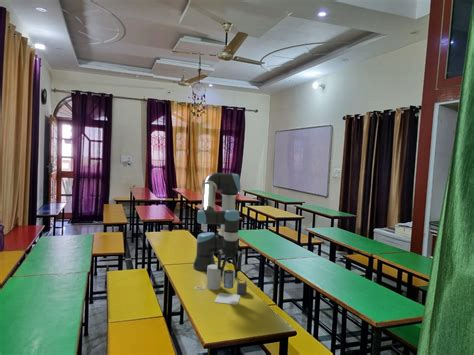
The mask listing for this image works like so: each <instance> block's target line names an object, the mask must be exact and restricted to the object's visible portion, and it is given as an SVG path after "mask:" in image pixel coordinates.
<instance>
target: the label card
mask: <svg viewBox="0 0 474 355" xmlns="http://www.w3.org/2000/svg"><path fill="white" fill-rule="evenodd" d="M204 289H205V287H204V286H203V287H202V286H195V287H194V290H201V291H202V290H204Z"/></svg>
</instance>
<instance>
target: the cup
mask: <svg viewBox="0 0 474 355" xmlns="http://www.w3.org/2000/svg"><path fill="white" fill-rule="evenodd" d="M217 267H218V264H216V265H215V264H212V265H208V266H207V271H206V289H208V290H210V291H217V290H219V289H221V286H222V277H221V270H219V269H217Z"/></svg>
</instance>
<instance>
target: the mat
mask: <svg viewBox="0 0 474 355" xmlns="http://www.w3.org/2000/svg"><path fill="white" fill-rule="evenodd" d="M241 296H242V295H237V294H233V293H226V292H225V293H224V292H218V294H217V296H216V297H215V300H214V301H213V302H214V303H216V304H226V305H235V306H238V304H239V302H240V298H241Z"/></svg>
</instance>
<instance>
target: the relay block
mask: <svg viewBox="0 0 474 355" xmlns="http://www.w3.org/2000/svg"><path fill="white" fill-rule="evenodd" d="M236 282H237V284H236V295H241V296H247V283H248V282H247V280H237V281H236Z"/></svg>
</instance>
